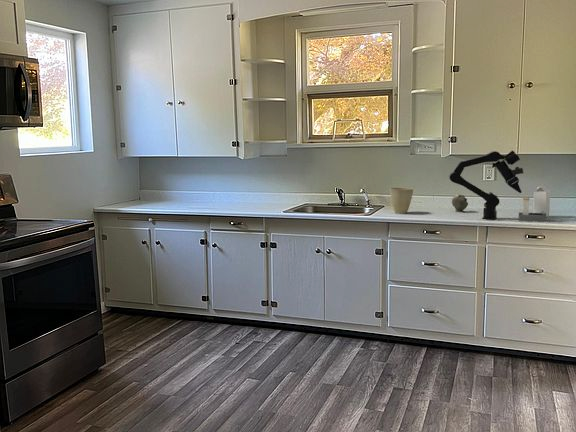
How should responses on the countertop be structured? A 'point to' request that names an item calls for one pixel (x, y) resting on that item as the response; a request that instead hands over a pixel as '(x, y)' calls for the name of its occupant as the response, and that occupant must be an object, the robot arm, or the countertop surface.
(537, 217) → the switch housing
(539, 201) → the milk carton
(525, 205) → the switch lever
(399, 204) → the plant pot
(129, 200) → the countertop surface
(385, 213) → the countertop surface
